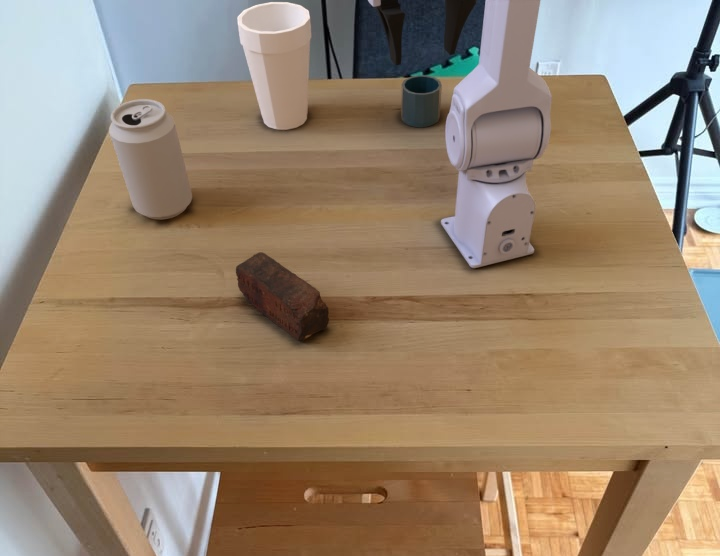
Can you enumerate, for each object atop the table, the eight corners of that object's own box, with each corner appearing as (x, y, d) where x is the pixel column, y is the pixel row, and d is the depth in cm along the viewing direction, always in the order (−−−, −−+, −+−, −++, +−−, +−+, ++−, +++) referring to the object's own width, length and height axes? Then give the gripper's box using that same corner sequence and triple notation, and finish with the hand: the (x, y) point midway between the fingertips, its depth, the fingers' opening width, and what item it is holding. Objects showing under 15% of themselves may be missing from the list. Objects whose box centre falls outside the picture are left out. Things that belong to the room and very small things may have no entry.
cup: (445, 122, 100) (448, 90, 96) (409, 130, 99) (409, 97, 95) (431, 104, 103) (432, 72, 99) (395, 112, 102) (395, 79, 98)
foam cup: (322, 102, 104) (314, 2, 93) (313, 136, 99) (304, 34, 88) (258, 101, 105) (244, 1, 94) (246, 134, 99) (229, 33, 89)
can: (123, 204, 90) (92, 110, 81) (174, 181, 93) (149, 87, 83) (153, 231, 87) (124, 135, 77) (205, 206, 90) (183, 111, 80)
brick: (240, 300, 79) (232, 265, 75) (267, 283, 81) (261, 248, 77) (303, 347, 75) (299, 313, 71) (330, 328, 76) (328, 293, 72)
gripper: (470, -88, 87) (461, 34, 98) (358, -70, 84) (361, 53, 95) (495, -68, 83) (482, 56, 94) (378, -49, 80) (378, 77, 91)
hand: (422, 56), depth 94 cm, fingers open, 7 cm apart
